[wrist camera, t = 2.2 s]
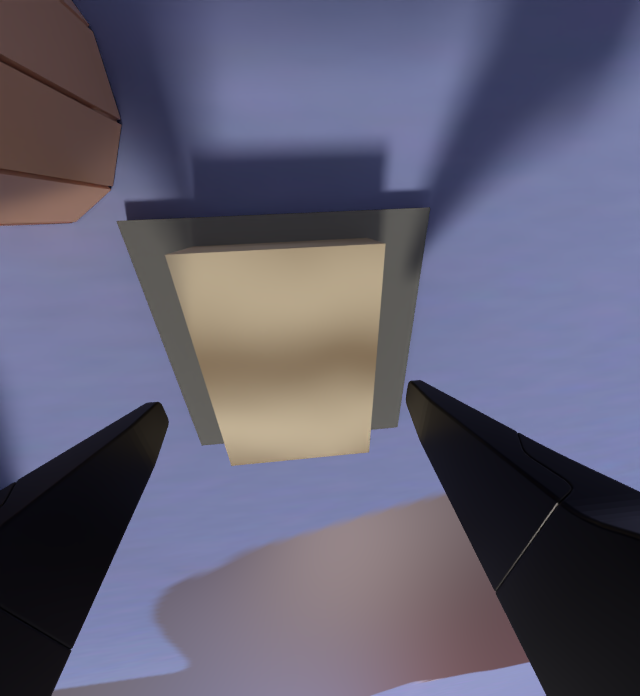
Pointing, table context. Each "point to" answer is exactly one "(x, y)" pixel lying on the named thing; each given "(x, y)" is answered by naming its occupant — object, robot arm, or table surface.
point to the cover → (285, 342)
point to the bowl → (52, 115)
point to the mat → (180, 233)
